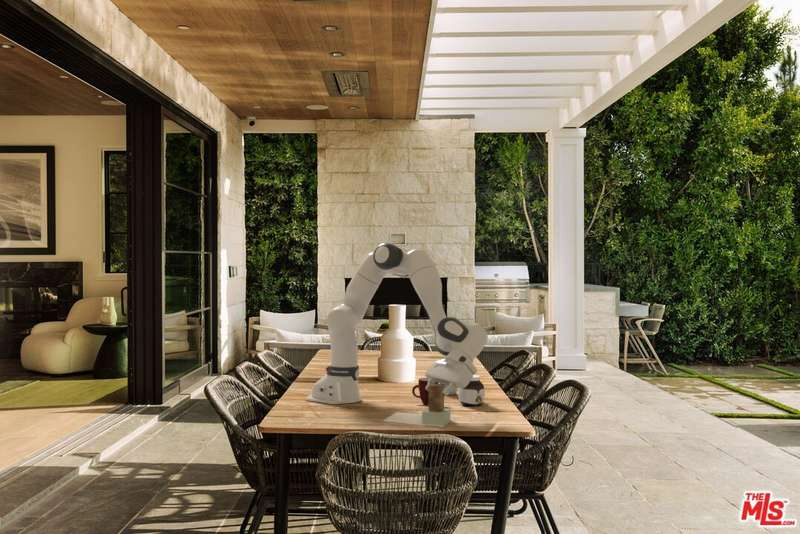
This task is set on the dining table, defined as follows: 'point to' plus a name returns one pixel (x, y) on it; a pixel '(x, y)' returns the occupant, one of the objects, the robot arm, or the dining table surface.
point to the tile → (409, 419)
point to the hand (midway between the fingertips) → (435, 392)
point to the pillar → (436, 398)
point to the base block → (436, 417)
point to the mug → (422, 390)
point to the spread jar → (472, 393)
